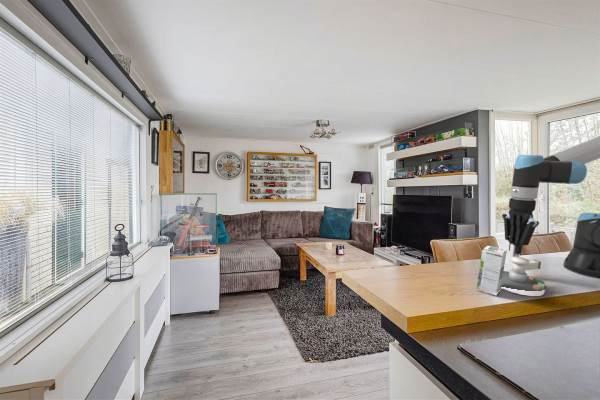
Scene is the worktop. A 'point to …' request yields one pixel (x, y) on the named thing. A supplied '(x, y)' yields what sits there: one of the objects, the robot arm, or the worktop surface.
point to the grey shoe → (522, 281)
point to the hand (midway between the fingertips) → (513, 261)
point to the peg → (524, 264)
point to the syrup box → (491, 269)
